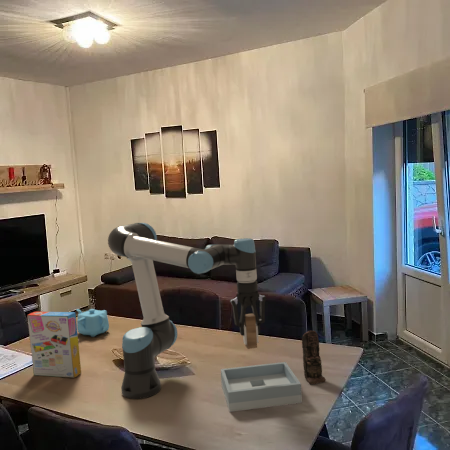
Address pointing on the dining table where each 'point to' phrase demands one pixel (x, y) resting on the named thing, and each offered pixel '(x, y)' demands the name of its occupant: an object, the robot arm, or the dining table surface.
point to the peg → (250, 331)
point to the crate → (260, 386)
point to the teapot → (92, 322)
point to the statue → (312, 358)
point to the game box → (54, 344)
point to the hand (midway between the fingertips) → (251, 342)
